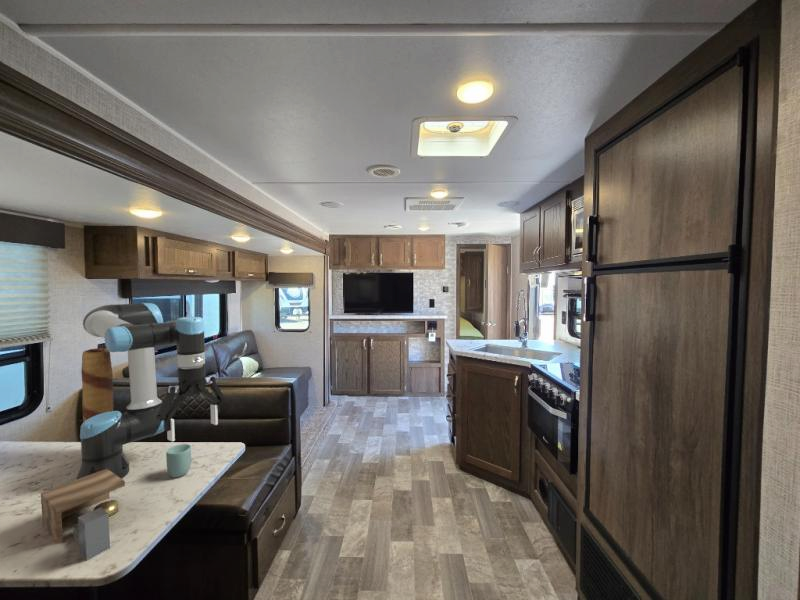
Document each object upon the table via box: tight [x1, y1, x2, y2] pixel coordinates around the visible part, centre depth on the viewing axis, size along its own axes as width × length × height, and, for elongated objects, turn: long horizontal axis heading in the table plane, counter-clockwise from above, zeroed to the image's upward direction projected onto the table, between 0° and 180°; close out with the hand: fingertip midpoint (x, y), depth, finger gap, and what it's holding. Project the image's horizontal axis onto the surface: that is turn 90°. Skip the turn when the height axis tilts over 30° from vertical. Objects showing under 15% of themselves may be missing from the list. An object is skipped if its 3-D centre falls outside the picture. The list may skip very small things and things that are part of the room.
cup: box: [165, 443, 192, 478], centre depth 132 cm, size 8×8×10 cm
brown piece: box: [40, 469, 126, 544], centre depth 108 cm, size 14×16×10 cm
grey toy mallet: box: [71, 507, 111, 561], centre depth 97 cm, size 15×5×10 cm, turn 58°
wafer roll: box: [81, 347, 114, 423], centre depth 146 cm, size 10×11×45 cm
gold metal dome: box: [92, 499, 119, 518], centre depth 110 cm, size 6×6×3 cm
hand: (193, 431), depth 111 cm, fingers open, 13 cm apart
